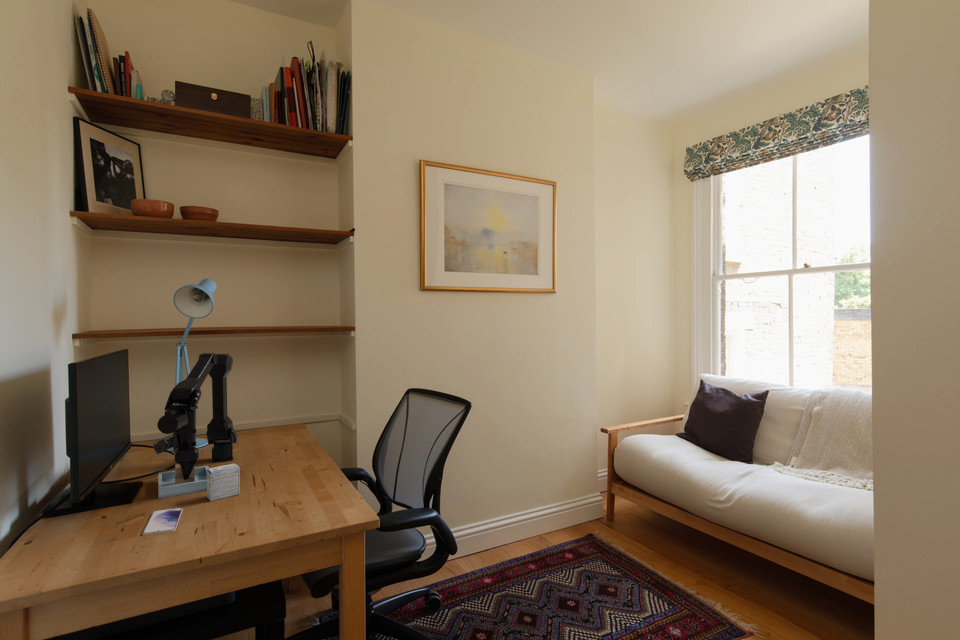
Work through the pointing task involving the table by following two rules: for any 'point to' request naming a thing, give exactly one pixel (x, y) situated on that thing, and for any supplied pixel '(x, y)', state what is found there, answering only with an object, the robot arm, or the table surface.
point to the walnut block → (179, 475)
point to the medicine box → (223, 481)
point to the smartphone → (163, 521)
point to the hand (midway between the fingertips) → (185, 475)
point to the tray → (170, 489)
